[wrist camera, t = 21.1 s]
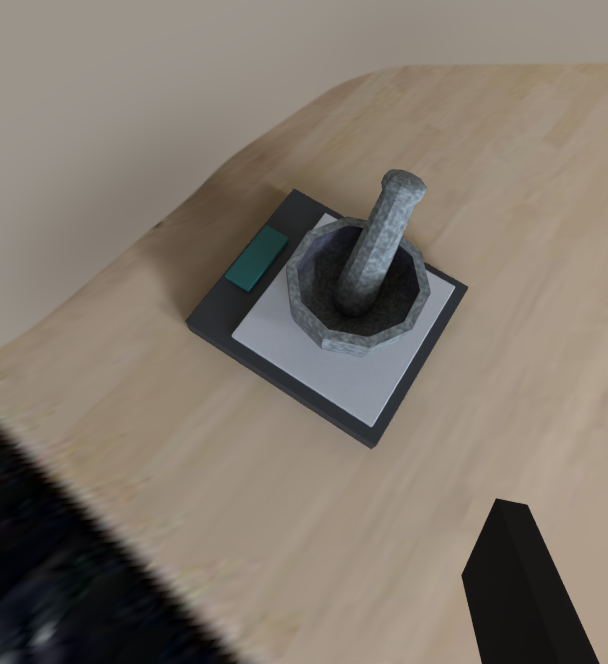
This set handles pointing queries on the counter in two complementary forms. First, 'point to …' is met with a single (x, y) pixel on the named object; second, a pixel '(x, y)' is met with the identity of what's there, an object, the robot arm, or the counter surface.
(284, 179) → the counter surface
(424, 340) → the kitchen scale
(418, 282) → the mortar and pestle
